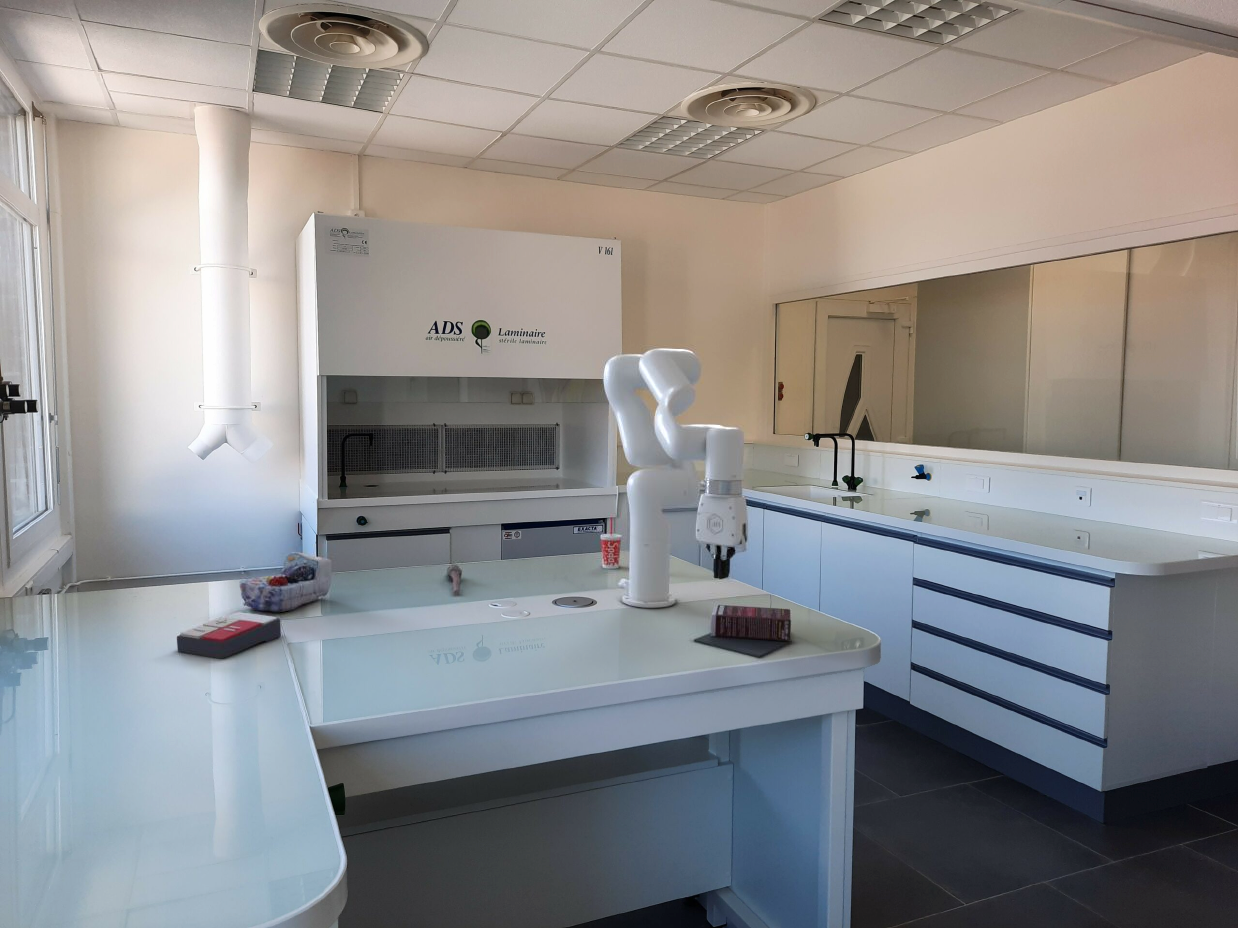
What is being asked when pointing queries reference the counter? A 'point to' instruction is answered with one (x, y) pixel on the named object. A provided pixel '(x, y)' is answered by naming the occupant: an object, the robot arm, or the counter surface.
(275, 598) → the toy bassinet
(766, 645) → the mat
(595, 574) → the counter surface
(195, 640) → the calculator
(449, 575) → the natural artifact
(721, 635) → the supplement box
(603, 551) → the beverage cup
